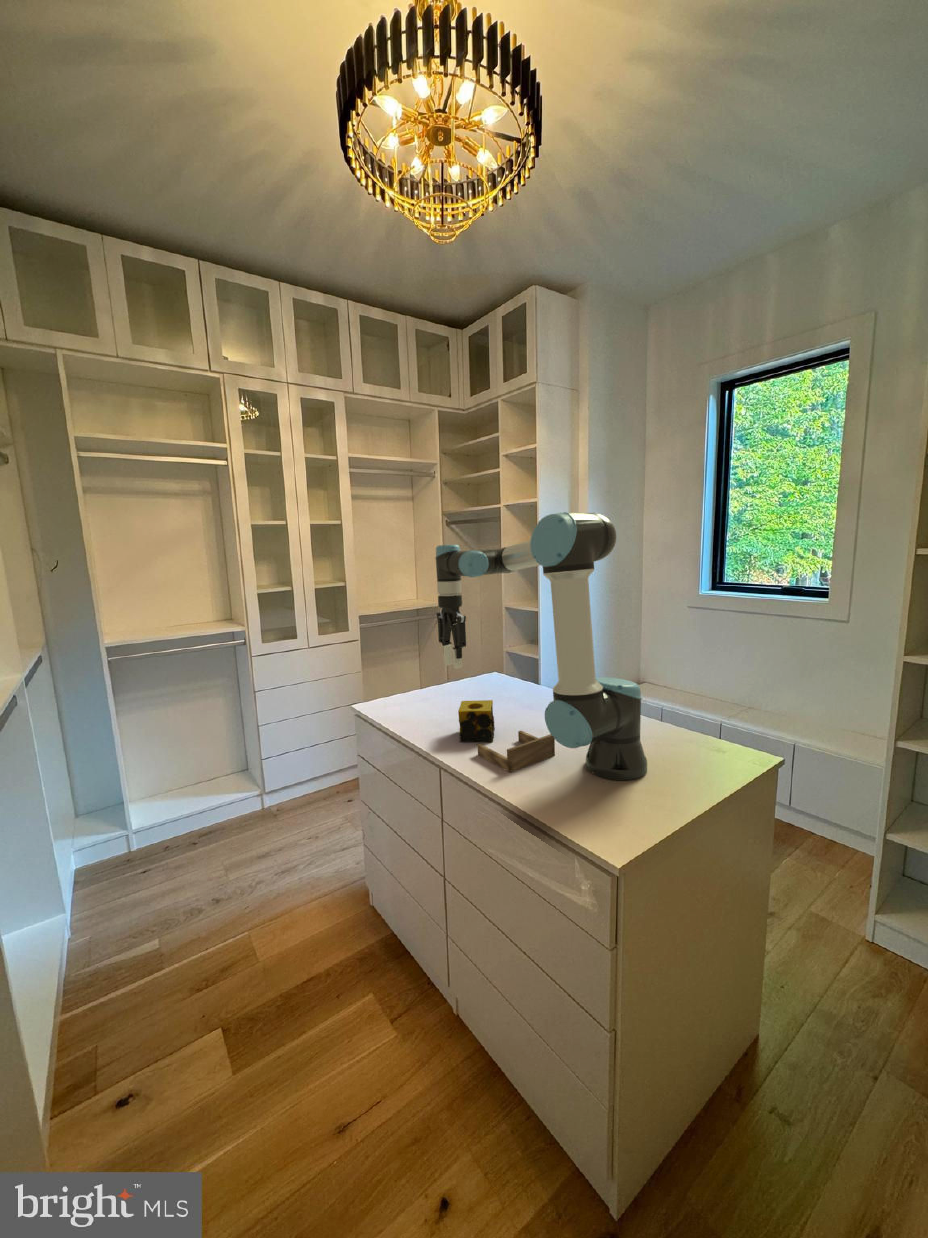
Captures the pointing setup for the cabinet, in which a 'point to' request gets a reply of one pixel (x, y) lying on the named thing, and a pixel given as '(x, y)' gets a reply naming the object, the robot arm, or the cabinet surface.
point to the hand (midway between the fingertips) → (453, 666)
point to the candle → (476, 721)
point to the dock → (521, 752)
